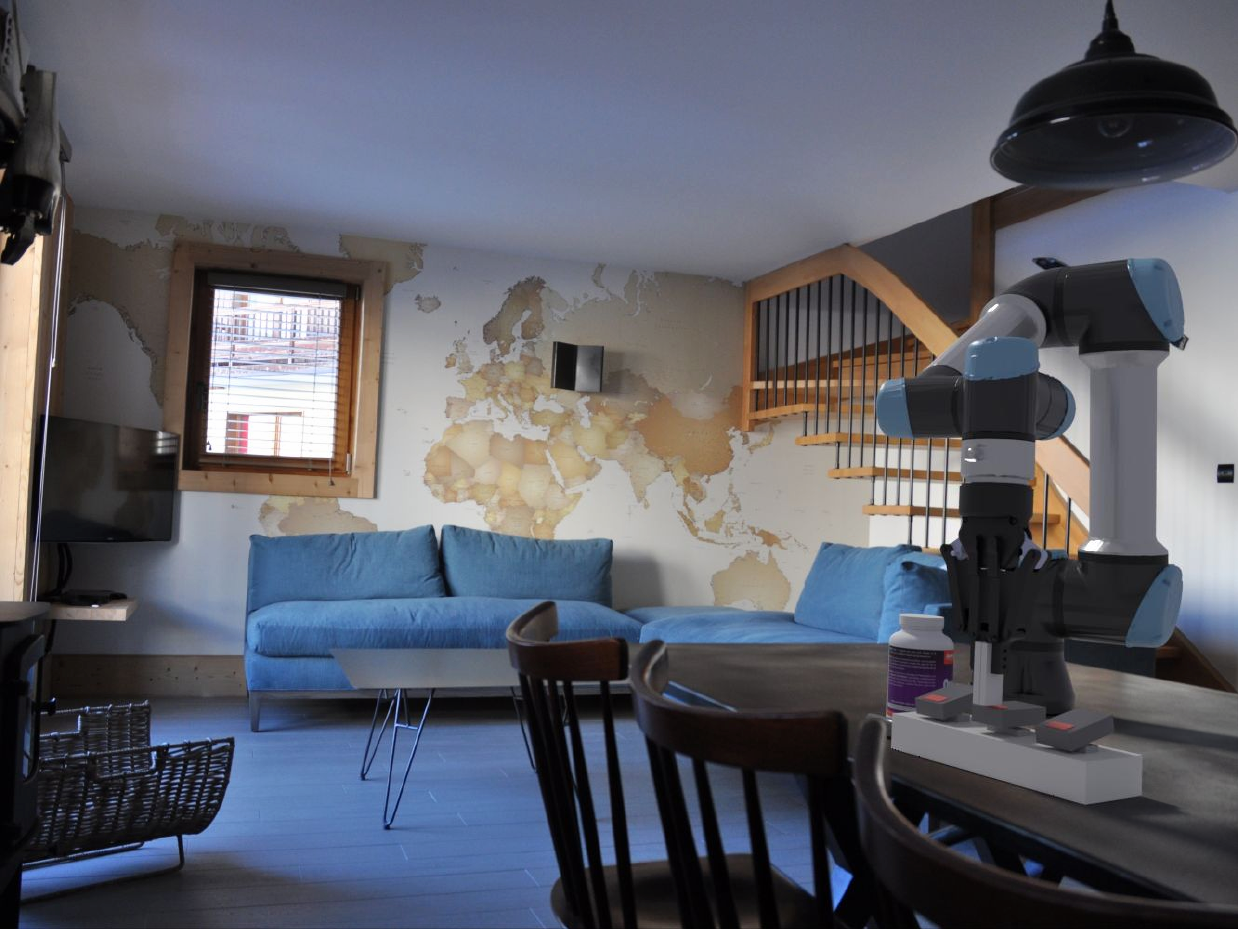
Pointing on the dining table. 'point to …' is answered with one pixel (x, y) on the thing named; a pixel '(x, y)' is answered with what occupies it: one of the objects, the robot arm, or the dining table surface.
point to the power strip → (1019, 757)
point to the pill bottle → (917, 661)
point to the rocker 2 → (1009, 714)
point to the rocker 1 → (946, 701)
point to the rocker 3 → (1074, 729)
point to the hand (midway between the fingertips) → (987, 703)
